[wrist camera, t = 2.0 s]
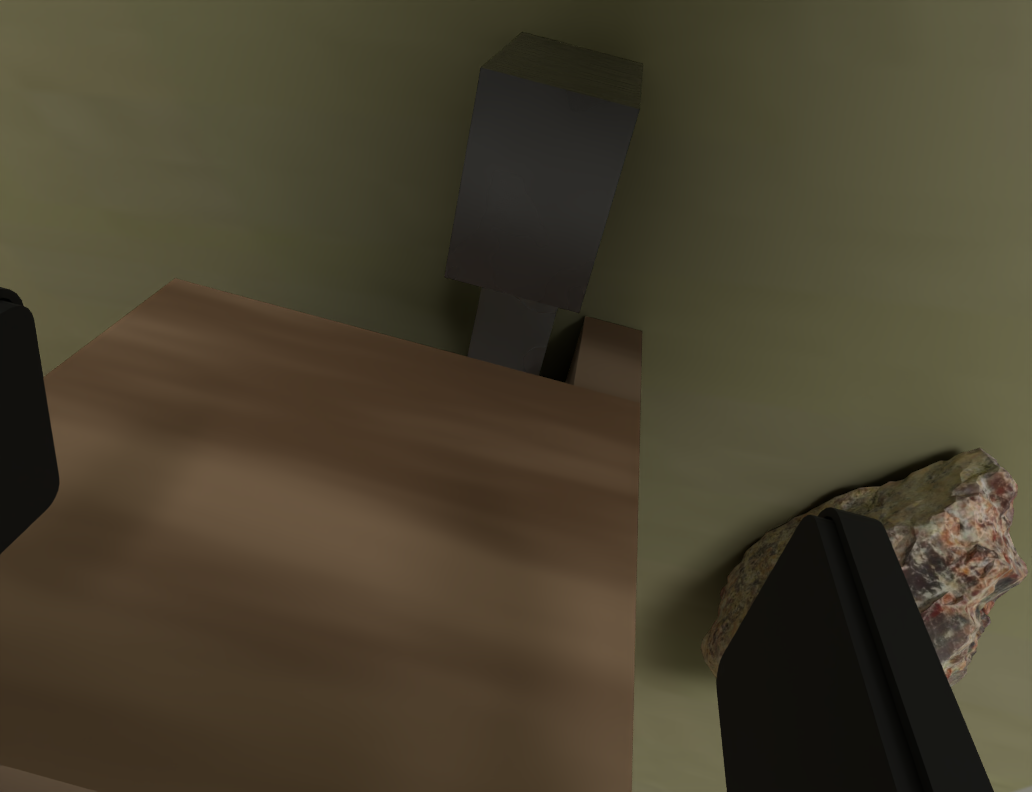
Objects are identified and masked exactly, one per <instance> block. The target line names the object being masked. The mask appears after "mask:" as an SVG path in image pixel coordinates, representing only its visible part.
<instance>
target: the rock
mask: <svg viewBox="0 0 1032 792" xmlns="http://www.w3.org/2000/svg"><path fill="white" fill-rule="evenodd" d="M1017 492H1018V485H1017V484H1016V482H1015V481H1014V479H1013V478H1012V477H1011V475H1010V474H1009V473H1008V472H1007V471H1006V470H1005V469H1004V468H1003V467H1001V466H1000V465H999V464H998V463H997V460H996V459H994V458H993V457H992V456H990V455H989V454H988V453H986V452H985V451H984V450H983V449H981V448H978V449H974V450H971V451H968V452H962V453H960V454H957V455H956V456H954V457H953V458H951V459H950V460H948V461H938V462H936V463H934V464H931V465H929V466H927V467H925V468H923V469H920V470H918V471H915V472H912V473H911V474H910V475H909V476H908V477H906V478H905V479H903V480H900V481H897V482H893V481H890V482H888V483H886V484H884V485H883V486H881V487H862V488H858V489H855V490H853V491H850V492H848V493H846V494H843V495H840V496H836V497H834V498H833V499H831V500H829V501H828V502H825V503H823V504H821V505H820V506H818V507H816V508H814V509H812V510H811V511H809V512H808V513H805V514H803V515H800V516H797V517H794V518H793V519H791V520H790V521H789V522H788V523H786V524H784V525H782V526H780V527H778V528H776V529H774V530H771V531H769V532H767V533H766V534H765V535H764V536H763V537H762V538H761V539H760V540H759V541H758V542H756V543H755V544H754V545H753V546H752V547H750V548H749V549H748V550H747V551H746V552H745V554H744V556H743V559H742V562H740V563H739V564H738V565H737V566H736V567H735V568H734V569H733V570H732V571H731V573H730V574H729V575H728V577H727V579H728V583H727V584H726V585H725V586H724V587H723V588H722V589H721V592H720V596H721V602H720V604H719V607H718V618H717V619H716V621H715V622H714V624H713V626H712V628H711V629H710V630H709V632H708V633H707V634H706V635H705V637H704V639H702V644H701V651H702V654H703V657H704V660H705V662H706V663H707V665H708V666H709V668H710V669H711V671H712V672H713V674H714V675H715V677H716V678H717V671H718V666H719V663H720V660H721V657H722V655H723V653H724V652H725V650H726V648H727V647H728V645H729V643H730V641H731V640H732V638H733V636H734V635H735V633H736V631H737V629H738V628H739V626H740V624H741V622H742V621H743V619H744V617H745V616H746V614H747V612H748V610H749V609H750V607H751V605H752V604H753V602H754V600H755V598H756V597H757V595H758V593H759V592H760V590H761V588H762V586H763V585H764V583H765V581H766V580H767V578H768V576H769V574H770V573H771V571H772V569H773V568H774V566H775V564H776V562H777V561H778V559H779V557H780V555H781V554H782V552H783V550H784V549H785V547H786V545H787V543H788V542H789V540H790V538H791V537H792V535H793V533H794V531H795V530H796V528H797V526H798V525H799V523H800V522H801V520H802V519H803V518H804V517H805V516H806V515H814V516H818V515H819V513H820V512H821V511H822V510H824V509H825V508H829V507H833V508H836V509H840V510H844V511H848V512H851V513H855V514H859V515H863V516H867V517H870V518H874V519H877V520H878V521H880V522H881V523H882V524H883V526H884V527H885V529H886V532H887V534H888V537H889V539H890V541H891V544H892V546H893V549H894V551H895V554H896V556H897V558H898V561H899V563H900V566H901V568H902V570H903V573H904V575H905V578H906V580H907V583H908V585H909V587H910V590H911V592H912V595H913V597H914V600H915V602H916V604H917V607H918V609H919V612H920V614H921V616H922V619H923V621H924V624H925V626H926V629H927V631H928V633H929V636H930V638H931V641H932V643H933V646H934V648H935V650H936V653H937V655H938V658H939V660H940V662H941V665H942V667H943V670H944V672H945V675H946V677H947V679H948V682H949V684H950V687H951V686H952V685H954V684H955V683H957V682H958V681H960V680H961V679H962V678H963V677H964V676H965V675H966V674H967V666H968V665H969V663H970V662H971V660H972V656H973V655H974V654H975V653H976V647H977V640H978V639H979V638H980V637H981V634H982V633H983V632H984V629H985V628H986V627H987V626H988V625H989V624H990V623H991V622H990V617H988V616H987V614H988V613H989V612H990V610H991V608H992V607H993V606H994V603H995V601H996V599H997V598H999V597H1000V596H1001V595H1003V594H1004V593H1006V592H1007V591H1008V590H1009V589H1011V588H1013V587H1014V586H1016V585H1018V584H1019V583H1020V582H1021V581H1022V580H1023V579H1024V578H1025V577H1026V576H1027V573H1028V571H1027V567H1026V564H1025V563H1024V561H1023V560H1022V559H1021V558H1020V556H1019V555H1018V553H1017V551H1016V549H1015V547H1014V545H1013V542H1012V540H1011V537H1010V534H1009V530H1010V526H1011V525H1012V520H1013V514H1014V509H1013V500H1014V498H1015V497H1016V496H1017Z"/></svg>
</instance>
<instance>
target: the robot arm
mask: <svg viewBox="0 0 1032 792" xmlns="http://www.w3.org/2000/svg"><path fill="white" fill-rule="evenodd" d="M59 484H60V481H59V472H58V466H57V459H56V453H55V447H54V441H53V435H52V428H51V422H50V416H49V410H48V404H47V397H46V391H45V385H44V379H43V372H42V366H41V360H40V354H39V348H38V341H37V335H36V329H35V323H34V318H33V315H32V313H31V312H30V310H29V309H28V308H26V307H24V306H23V303H22V300H21V299H20V297H19V296H18V295H17V293H15V292H13V291H11V290H10V289H6V288H2V287H0V554H1V553H2V552H3V551H4V550H5V549H6V548H7V547H8V546H10V545H11V544H12V543H13V542H14V541H15V540H16V539H17V538H18V537H19V536H20V535H21V534H22V533H23V532H24V531H25V530H26V529H27V528H28V527H29V526H30V525H31V524H32V523H33V522H34V521H36V520H37V519H38V518H39V517H40V516H41V515H42V514H43V513H44V512H45V511H46V510H47V509H48V508H49V507H50V505H51V504H52V503H53V501H54V499H55V497H56V495H57V492H58V489H59ZM716 684H717V697H718V707H719V717H720V727H721V737H722V747H723V757H724V767H725V777H726V787H727V792H994V791H993V788H992V786H991V784H990V781H989V779H988V776H987V774H986V771H985V769H984V767H983V764H982V762H981V759H980V757H979V754H978V752H977V750H976V747H975V745H974V742H973V740H972V738H971V735H970V733H969V730H968V728H967V725H966V723H965V721H964V718H963V716H962V713H961V711H960V708H959V706H958V704H957V701H956V699H955V696H954V694H953V692H952V689H951V687H950V684H949V682H948V679H947V677H946V675H945V672H944V670H943V667H942V665H941V662H940V660H939V658H938V655H937V653H936V650H935V648H934V646H933V643H932V641H931V638H930V636H929V633H928V631H927V629H926V626H925V624H924V621H923V619H922V616H921V614H920V612H919V609H918V607H917V604H916V602H915V600H914V597H913V595H912V592H911V590H910V587H909V585H908V583H907V580H906V578H905V575H904V573H903V570H902V568H901V566H900V563H899V561H898V558H897V556H896V554H895V551H894V549H893V546H892V544H891V541H890V539H889V537H888V534H887V532H886V529H885V527H884V526H883V524H882V523H881V522H880V521H878V520H877V519H874V518H870V517H867V516H863V515H859V514H855V513H851V512H848V511H844V510H840V509H836V508H833V507H829V508H825V509H824V510H822V511H821V512H820V513H819V515H818V516H814V515H806V516H805V517H804V518H803V519H802V520H801V522H800V523H799V525H798V526H797V528H796V530H795V531H794V533H793V535H792V537H791V538H790V540H789V542H788V543H787V545H786V547H785V549H784V550H783V552H782V554H781V555H780V557H779V559H778V561H777V562H776V564H775V566H774V568H773V569H772V571H771V573H770V574H769V576H768V578H767V580H766V581H765V583H764V585H763V586H762V588H761V590H760V592H759V593H758V595H757V597H756V598H755V600H754V602H753V604H752V605H751V607H750V609H749V610H748V612H747V614H746V616H745V617H744V619H743V621H742V622H741V624H740V626H739V628H738V629H737V631H736V633H735V635H734V636H733V638H732V640H731V641H730V643H729V645H728V647H727V648H726V650H725V652H724V653H723V655H722V657H721V660H720V663H719V666H718V671H717V680H716Z"/></svg>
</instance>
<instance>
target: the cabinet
mask: <svg viewBox="0 0 1032 792" xmlns="http://www.w3.org/2000/svg"><path fill="white" fill-rule="evenodd" d="M641 367H642V331H640V330H636V329H632V328H629V327H625V326H621V325H617V324H614V323H610V322H606V321H602V320H599V319H595V318H591V317H587V316H585V319H584V322H583V325H582V329H581V332H580V335H579V339H578V342H577V345H576V349H575V352H574V355H573V358H572V362H571V365H570V368H569V372H568V375H567V378H566V382H565V383H564V382H560V381H556V380H552V379H549V378H545V377H541V376H537V375H534V374H530V373H526V372H523V371H519V370H515V369H511V368H508V367H504V366H500V365H496V364H493V363H489V362H485V361H481V360H478V359H474V358H470V357H467V356H463V355H459V354H455V353H452V352H448V351H444V350H440V349H437V348H433V347H429V346H426V345H422V344H418V343H414V342H411V341H407V340H403V339H399V338H396V337H392V336H388V335H384V334H381V333H377V332H373V331H370V330H366V329H362V328H358V327H355V326H351V325H347V324H343V323H340V322H336V321H332V320H329V319H325V318H321V317H317V316H314V315H310V314H306V313H302V312H299V311H295V310H291V309H287V308H284V307H280V306H276V305H273V304H269V303H265V302H261V301H258V300H254V299H250V298H246V297H243V296H239V295H235V294H232V293H228V292H224V291H220V290H217V289H213V288H209V287H205V286H202V285H198V284H194V283H190V282H187V281H183V280H179V279H176V278H175V279H173V280H172V281H171V282H169V283H168V284H167V285H165V286H164V287H163V288H161V289H160V290H159V291H157V292H156V293H155V294H153V295H152V296H151V297H149V298H148V299H147V300H145V301H144V302H143V303H142V304H140V305H139V306H138V307H136V308H135V309H134V310H132V311H131V312H130V313H128V314H127V315H126V316H124V317H123V318H122V319H120V320H119V321H118V322H116V323H115V324H114V325H112V326H111V327H110V328H108V329H107V330H106V331H104V332H103V333H102V334H100V335H99V336H98V337H96V338H95V339H94V340H92V341H91V342H90V343H88V344H87V345H86V346H84V347H83V348H82V349H80V350H79V351H78V352H76V353H75V354H74V355H72V356H71V357H70V358H68V359H67V360H66V361H64V362H63V363H62V364H60V365H59V366H58V367H56V368H55V369H54V370H52V371H51V372H50V373H48V374H47V375H46V376H44V377H43V379H44V385H45V391H46V397H47V404H48V410H49V416H50V422H51V428H52V435H53V441H54V447H55V453H56V459H57V466H58V472H59V481H60V484H59V489H58V492H57V495H56V497H55V499H54V501H53V503H52V504H51V505H50V507H49V508H48V509H47V510H46V511H45V512H44V513H43V514H42V515H41V516H40V517H39V518H38V519H37V520H36V521H34V522H33V523H32V524H31V525H30V526H29V527H28V528H27V529H26V530H25V531H24V532H23V533H22V534H21V535H20V536H19V537H18V538H17V539H16V540H15V541H14V542H13V543H12V544H11V545H10V546H8V547H7V548H6V549H5V550H4V551H3V552H2V553H1V554H0V792H632V755H633V712H634V669H635V626H636V583H637V539H638V496H639V453H640V410H641Z"/></svg>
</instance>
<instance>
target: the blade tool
mask: <svg viewBox="0 0 1032 792" xmlns="http://www.w3.org/2000/svg"><path fill="white" fill-rule="evenodd" d="M642 72H643V64H642V63H638V62H634V61H630V60H627V59H623V58H619V57H615V56H611V55H608V54H604V53H600V52H596V51H592V50H589V49H585V48H581V47H577V46H573V45H570V44H566V43H562V42H558V41H554V40H551V39H547V38H543V37H539V36H535V35H532V34H528V33H524V32H522V33H521V34H519V35H518V36H517V37H516V38H515V39H514V40H512V41H511V42H510V43H509V44H508V45H507V46H505V47H504V48H503V49H502V50H501V51H499V52H498V53H497V54H496V55H495V56H494V57H492V58H491V59H490V60H489V61H488V62H487V63H485V64H484V65H483V66H482V67H481V69H480V75H479V81H478V87H477V92H476V98H475V104H474V109H473V115H472V121H471V127H470V132H469V138H468V144H467V150H466V155H465V161H464V167H463V173H462V178H461V184H460V190H459V196H458V201H457V207H456V213H455V218H454V224H453V230H452V236H451V241H450V247H449V253H448V259H447V264H446V270H445V276H444V277H446V278H450V279H454V280H457V281H461V282H465V283H469V284H472V285H476V286H480V287H482V289H481V293H480V298H479V303H478V308H477V313H476V317H475V322H474V327H473V332H472V337H471V342H470V346H469V351H468V356H467V357H470V358H474V359H478V360H481V361H485V362H489V363H493V364H496V365H500V366H504V367H508V368H511V369H515V370H519V371H523V372H526V373H530V374H534V375H537V376H539V373H540V370H541V366H542V362H543V359H544V355H545V352H546V348H547V344H548V341H549V337H550V334H551V330H552V326H553V323H554V319H555V316H556V312H557V308H562V309H566V310H569V311H573V312H577V313H579V312H580V309H581V305H582V302H583V299H584V295H585V292H586V289H587V285H588V282H589V278H590V275H591V272H592V268H593V265H594V262H595V258H596V255H597V252H598V248H599V245H600V241H601V238H602V235H603V231H604V228H605V225H606V221H607V218H608V214H609V211H610V208H611V204H612V201H613V198H614V194H615V191H616V188H617V184H618V181H619V177H620V174H621V171H622V167H623V164H624V161H625V157H626V154H627V151H628V147H629V144H630V140H631V137H632V134H633V130H634V127H635V124H636V120H637V117H638V113H639V110H640V99H641V85H642Z"/></svg>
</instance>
